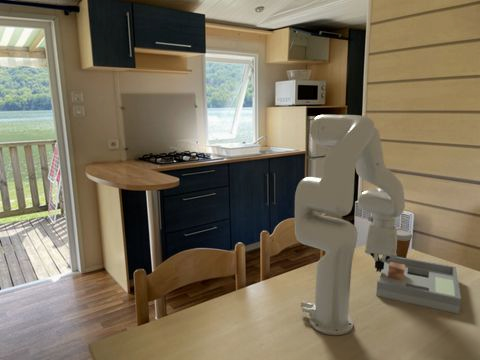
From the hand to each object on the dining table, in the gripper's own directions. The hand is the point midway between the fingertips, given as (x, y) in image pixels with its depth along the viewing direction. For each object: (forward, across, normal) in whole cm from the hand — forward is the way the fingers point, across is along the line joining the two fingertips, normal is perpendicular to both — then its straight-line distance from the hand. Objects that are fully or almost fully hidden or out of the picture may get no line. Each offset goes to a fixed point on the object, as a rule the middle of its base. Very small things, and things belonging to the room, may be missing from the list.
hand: (379, 270), depth 134 cm
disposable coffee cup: (+4, +5, +22) cm, 23 cm away
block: (+1, +6, 0) cm, 6 cm away
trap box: (+4, +13, 0) cm, 13 cm away
